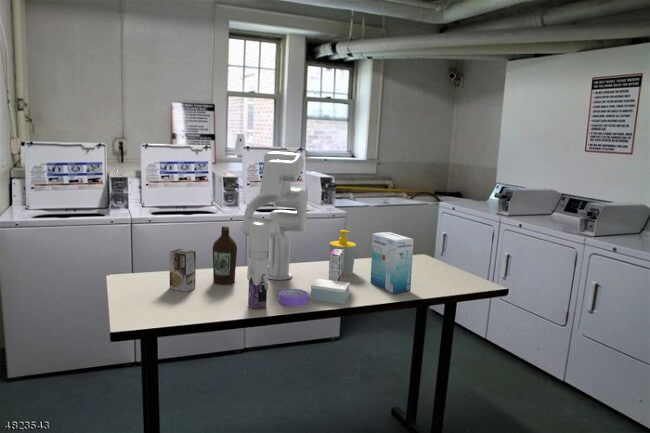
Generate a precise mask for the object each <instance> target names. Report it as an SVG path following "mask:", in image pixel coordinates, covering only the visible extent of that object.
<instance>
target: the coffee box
mask: <svg viewBox="0 0 650 433" xmlns="http://www.w3.org/2000/svg"><path fill="white" fill-rule="evenodd" d="M196 253H197V252H196V251H195V250H191V249H190V250H189V249H182V248H177V249H174V250H171V251H169V252H168V255H169V258H168V259H169V260H168V261H169V289H170V290H171V289H172V290H177V291H180V292H181V291H182V292H186V293H187V292H189V291H192V290H195V289H196V272H197V271H196V270H197V269H196V268H197V267H196V263H197V262H196V259H197V256H196Z"/></svg>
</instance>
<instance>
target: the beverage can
mask: <svg viewBox="0 0 650 433" xmlns="http://www.w3.org/2000/svg"><path fill="white" fill-rule="evenodd" d="M252 279H253V278H251V277H250V280H248V300H247V305H248V306H249V307H250V308H252V309H255V310H256V309H263V308H264V307H266V306H267V301H268V300H266V301H263V302H259V301H258V294H259V291H260V290H259V286H258V285H257V286H256V285H254V283H253V280H252ZM261 283H264V282H261ZM263 286H264V285H263ZM263 286H261V288H262V287H263Z"/></svg>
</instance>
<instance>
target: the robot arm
mask: <svg viewBox="0 0 650 433" xmlns="http://www.w3.org/2000/svg"><path fill="white" fill-rule="evenodd" d="M263 162H264V165H263V170H262V176H261V182H260V187H259V192H258V194H256V196H255V197H253V198H252V199H251V201H249V203H248V204H247V206H246V208H245V211H244V214H243V220H242V232H243V234H244V235H245V236H247V237H249V245H248V246H249V247H248V248H249V249H248V263H247V272H246V274H247V275H246V278H247V280H248V281H249V280H250V277H251V278H253V279H252V280H253V283H254V285H256V286H257V285H258V286H259V290H260V291H259V294H258V301H259V302H263V301H266V300H267V299H268V289H269V286H270V285H269V284H270V282H269V280H271V281H273V280H274V281H288V280H289V279H292V277H293V275H292V273H291V272H290V252H291V239H290V237H289V234H288V233H287V232H290V233H291V232H292V233H293V232H294V233H302V232H304V231H305V230H306V228H307V222H308V221H307V219H308V217H307V215H308V214H307V213H308V212H307V211H308V209H307V208H308V196H307V192H306V191H305V189H303V188H299V187H297V188H296V187H292V185H291V184H292V182H296V181H297V180H298V179H299V177H300V175H301V173H302V171H303V169H304V165H305V159H304V157H303V155H302V154H300V153H297V152H296V153H295V152H283V151H269V152H266V153H264V156H263ZM271 203H272V205H273V207H275V208H277V209H275V210H272V211H271V212H270V213H269V215H268V218H263V217H253V216H254V213H255V212H256V211H257V210H258V209H259V208H261V207H263V206H266V205H268V204H271ZM287 209H288V210H287ZM289 209H290V210H289ZM261 282H264V283H261ZM263 285H264V286H263ZM261 286H263V287H262V288H261ZM267 301H268V300H267Z"/></svg>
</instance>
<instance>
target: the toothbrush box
mask: <svg viewBox="0 0 650 433" xmlns="http://www.w3.org/2000/svg"><path fill="white" fill-rule="evenodd" d="M371 243H372V244H371V245H372V246H371V260H370V261H371V267H370V284H371V285H373V286H376V287H378V288H380V289H382V290H384V291H387V292H389V293H391V294H398V293H400V294H401V293H405V292H411V289H412V288H411V286H412V271H413V270H412V268H413V253H414V238H411V237H408V236H404V235H400V234H397V233H394V232H390V231H387V232H386V231H385V232H375V233H374V232H373V233H372V242H371Z"/></svg>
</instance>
